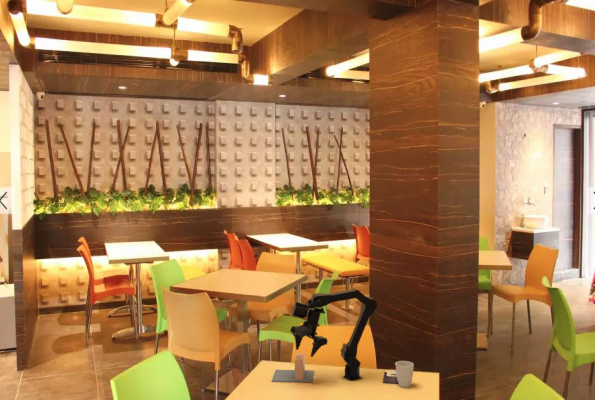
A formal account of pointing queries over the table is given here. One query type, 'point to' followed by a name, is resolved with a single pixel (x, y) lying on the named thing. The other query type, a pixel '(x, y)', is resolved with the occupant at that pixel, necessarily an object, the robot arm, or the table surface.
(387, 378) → the chocolate bar
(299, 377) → the salmon pink block
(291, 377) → the mat
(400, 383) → the cup
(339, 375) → the table surface
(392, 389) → the table surface
